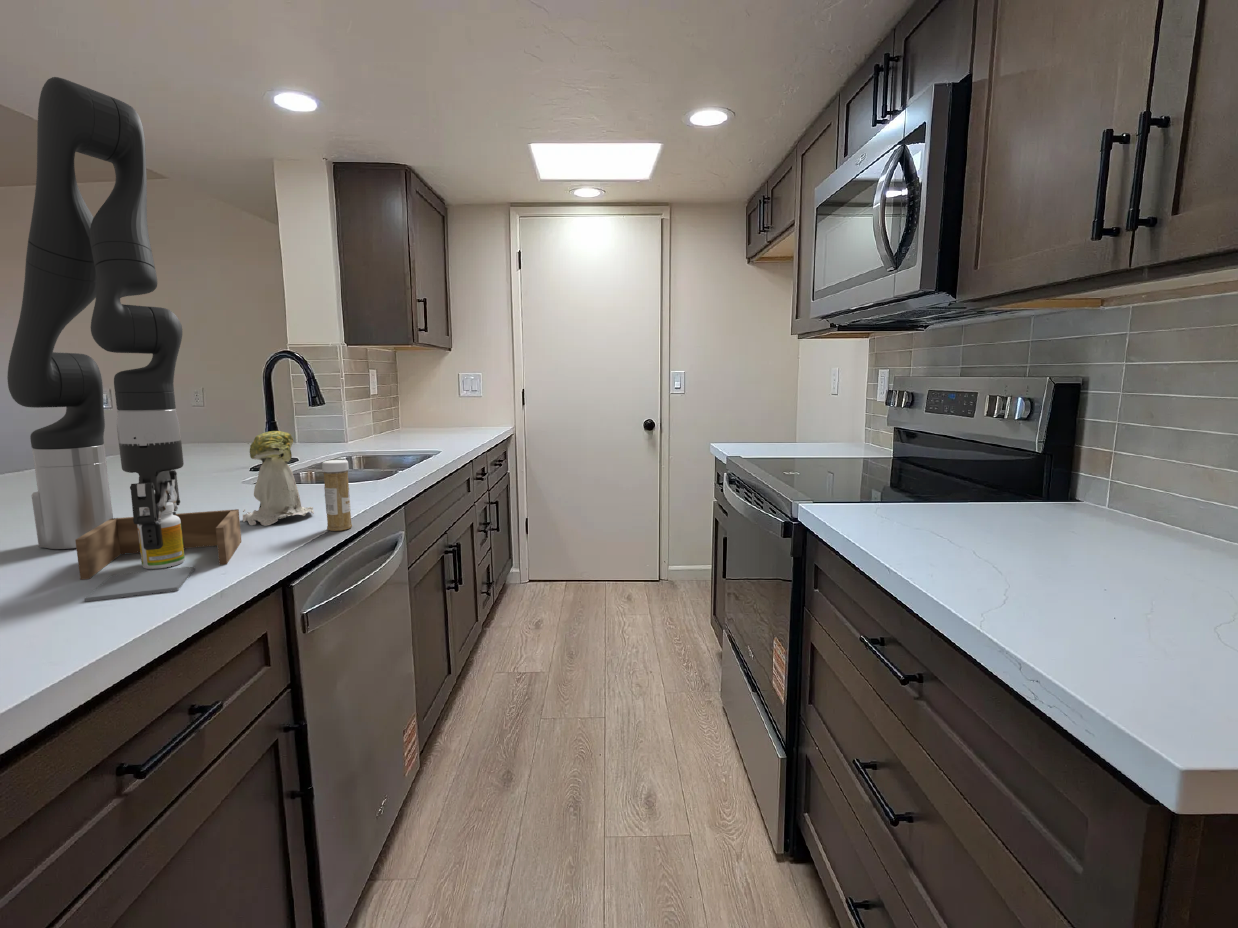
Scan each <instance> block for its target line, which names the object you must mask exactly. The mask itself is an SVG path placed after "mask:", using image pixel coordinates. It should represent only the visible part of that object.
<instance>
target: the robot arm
mask: <svg viewBox="0 0 1238 928" xmlns="http://www.w3.org/2000/svg"><path fill="white" fill-rule="evenodd" d="M36 132H37V138H36V139H37V140H36V144H37V145H36V179H35V180H36V181H35V190H34V199H33V208H32V214H31V220H30V221H31V222H30V225H29V226H30V227H29V233H28V240H27V247H26V256H25V267H24V270H25V271H24V282H23V293H22V300H21V301H22V302H21V309H20V312H19V313H20V315H19V320H18V323H17V327H16V332H15V336H14V339H13V344H12V348H11V352H10V356H9V360H8V366H7V376H6V377H7V378H6V379H7V387H8V392H9V393H10V396H11V398H12V399H13V401H14V402H15V403H17V405H19V406H22V407H25V408H32V409H33V408H34V409H35V408H38V409H39V408H65V414H64V415H63V416H62V417H61V418H60V419H59V420H57V421H55V422H53V423H52V424H49V425H46V426H43V427H40V428H38V429H35V430H33V431H32V432H31V433H30V438H29V439H30V445H31V452H32V457H33V465H34V466H33V467H34V472H35V480H36V487H37V491H35V492H33V493H32V494H31V501H32V510H33V516H34V522H35V523H34V525H35V530H36V536H37V543H38V544H37V546H38V548H46V549H49V550H50V549H51V550H67V549H76V541H75V540H76V539H77V538H79V537H81V536H82V535H84V534H86V533H87V532H89V531H91V530H93V529H94V528H96V527H98V526H99V525H101V524H103V523H104V522H106V521H108V520H109V519H112V518H114V514H113V512H114V511H113V506H112V496H111V489H110V481H109V473H108V465H107V455H106V448H105V441H104V433H105V428H106V421H105V408H104V406H105V405H104V388H103V387H104V385H103V378H102V373H101V370H100V368H99V366H98V364H97V362H96V361H95V360H94V359H93V358H92V357H91V356H89V355H88V354H84V353H76V352H74V353H73V352H54V349H55V346H56V343H57V340H58V339H59V336H60V335H61V333H62V332H63V330H64V329H65V328H66V327H67V325H68V324H70V322H72V320H74V319H75V318H76V317H77V316H78V315H79V314H81V312H83V311H84V310H85V309H86V308H87V307H88V306H89V305H90V304H92V302H93V301H94V300H95V301H94V307H93V310H92V315H91V321H90V334H91V336H92V339H93V340H94V342H95V343H96V344H97V345H98V346H99V347H100V348H101V349H103V350H104V351H107V352H109V353H115V354H116V353H117V354H118V353H119V354H142V355H143V354H146V355H147V354H149V355H152V358H151V359H150V362H149V363H148V364H147V365H145V366H143V367H139V368H138V367H137V368H131V369H125V370H121V371H119V372H116V373H115V374H114V377H113V386H114V396H115V403H116V404H115V405H116V413H117V414H116V431H117V439H118V447H119V449H118V450H119V456H120V463H121V464H120V465H121V469H122V471H123V472H126V473H128V474H129V473H132V474H134V473H137V475H138V483H131V484H130V486H129V489H130V498H131V505H132V506H131V507H132V517H133V522H134V524H139V526H141V529H142V537H143V546H144V549H145V550H154V549H160V548H161V547H162V546H163V539H162V530H161V524H160V523H161V513H162V512H163V511H165V510H166V503H167V502H172V503H173V505H174V512H173V515H176V514H177V511H178V509H179V508H178V506H180V504H181V500H180V492H179V485H178V483H179V482H178V476H177V475H178V472H177V471H176V470H179V469H182V468H183V467H184V457H183V456H184V455H183V445H182V437H181V425H180V421H179V420H180V419H179V417H178V414H177V407H176V398H175V388H174V379H175V372H176V365H177V359H178V355H179V352H180V347H181V344H182V340H183V326H182V323H181V321H180V319H179V318H178V316H177V315H176V314H175V313H174V312H173V311H172V310H170V309H168V308H165V307H159V306H150V305H149V306H144V305H134V304H122V302H121V299H122V298H125V297H131V296H143V295H147V294H150V293H152V292H154V291H155V290H156V289H157V288H158V275H157V271H156V266H155V260H154V257H153V256H154V255H153V251H152V250H153V249H152V246H151V241H150V236H149V235H150V234H149V227H148V226H149V225H148V212H147V211H148V205H147V204H148V203H147V202H148V199H147V198H148V197H147V195H148V194H147V193H148V187H147V186H148V185H147V183H148V182H147V181H148V180H147V156H146V155H147V154H146V139H145V137H146V136H145V132H144V127H143V123H142V120H141V117H140V115H139V113H138V112H137V111H136V109H135V108H134V107H133V106H131V105H130V104H127V103H126V102H124V101H122V100H120V99H117V98H115V97H113V96H110V95H107V94H105V93H103V92H100V91H97V90H94V89H91V88H89V87H86V86H84V85H83V84H82V85H81V84H78V83H76V82H74V81H71V80H68V79H66V78H62V77H58V76H52V77H50V78H47V80H45V83H44V85H43V86H42V87H41V91H40V95H39V101H38V108H37V131H36ZM76 153H79V154H82V155H86V156H88V157H92V158H95V159H98V160H101V161H105V162H108V163H111V164H112V165H113V168H114V174H115V175H114V176H115V180H114V181H115V182H114V185H113V189H112V190H111V192H110V194H109V195H108V197H107V198H106V199H105V201H104V202H103V203H102V205H101V206H100V208H99V209H98V211H97V212H96V213H95V215H94V216H93V213H92V212H91V210H90V209H89V206H87V203H86V201H85V200H84V198H83V195H82V193H81V190H80V187H79V186H78V182H77V175H76V171H75V157H76ZM147 512H150V515H146V513H147Z"/></svg>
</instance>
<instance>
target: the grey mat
mask: <svg viewBox="0 0 1238 928" xmlns="http://www.w3.org/2000/svg"><path fill="white" fill-rule="evenodd" d="M195 567H196V566H194V565H193V566H183V567H175V568H162V569H153V570H145V571H134V572H127V573H119V574H118V573H115V574H111V575H110V576H109V577H108V578H107V579H106V580H104V581H103V582H102V583H101V584H100V585H98V586H97V587H96V588H95V589H94V590H92V591H91V592H90V593H89V594H87V596H85V597H84V602H93V601H101V600H111V599H118V598H119V599H120V598H125V597H126V598H129V597H134V596H133V595H137V596H144V595H151V594H152V593H153V594H161V593H160V592H163V593H170V592H169V591H171V592H176V591H177V590H178V591H179V590H180V589H181V587H182V586H183V585H184V583H186V582H187V580H188V579H187V578H189V577H190V576H191V575H192V574H193V573H194V572H195V570H196V568H195ZM179 588H180V589H179ZM178 591H177V592H178Z"/></svg>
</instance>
